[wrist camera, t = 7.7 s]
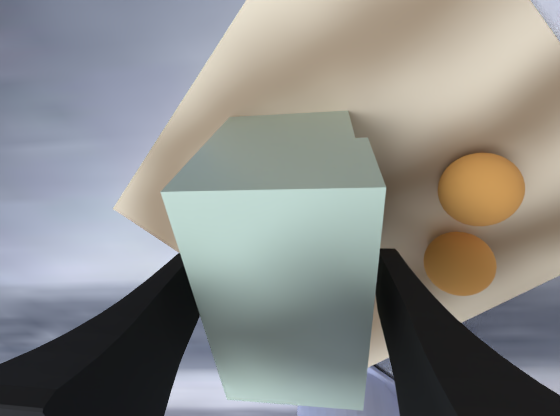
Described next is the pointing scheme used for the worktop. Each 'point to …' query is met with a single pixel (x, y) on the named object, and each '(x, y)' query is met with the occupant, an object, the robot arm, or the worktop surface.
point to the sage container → (283, 255)
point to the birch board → (394, 117)
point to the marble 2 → (460, 263)
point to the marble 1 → (481, 189)
